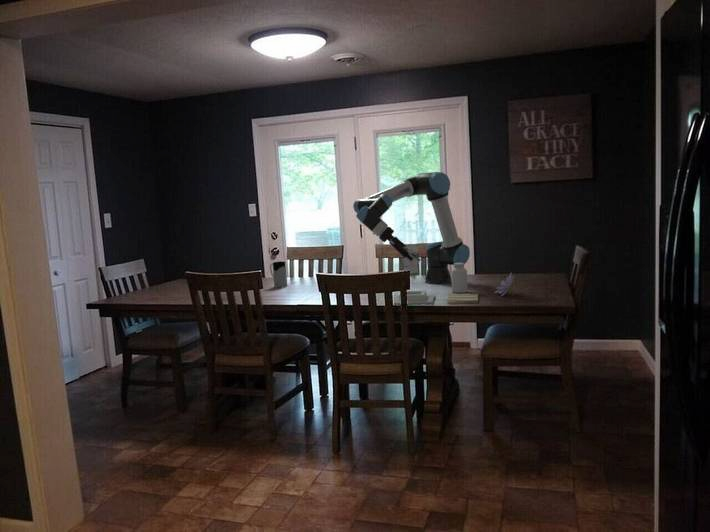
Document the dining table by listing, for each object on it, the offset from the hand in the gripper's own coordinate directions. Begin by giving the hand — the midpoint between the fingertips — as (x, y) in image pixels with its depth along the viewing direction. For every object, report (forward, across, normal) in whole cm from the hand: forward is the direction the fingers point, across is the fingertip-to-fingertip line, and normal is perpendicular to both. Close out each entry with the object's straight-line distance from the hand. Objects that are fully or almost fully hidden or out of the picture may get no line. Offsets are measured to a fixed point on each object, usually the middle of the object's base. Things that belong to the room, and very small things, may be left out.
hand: (418, 263), depth 287 cm
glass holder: (-51, -55, -78) cm, 108 cm away
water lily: (+42, -10, +15) cm, 46 cm away
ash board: (+28, 0, +1) cm, 28 cm away
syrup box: (+2, 0, -7) cm, 7 cm away
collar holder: (+11, 0, -16) cm, 19 cm away
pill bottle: (+27, -21, 0) cm, 34 cm away
